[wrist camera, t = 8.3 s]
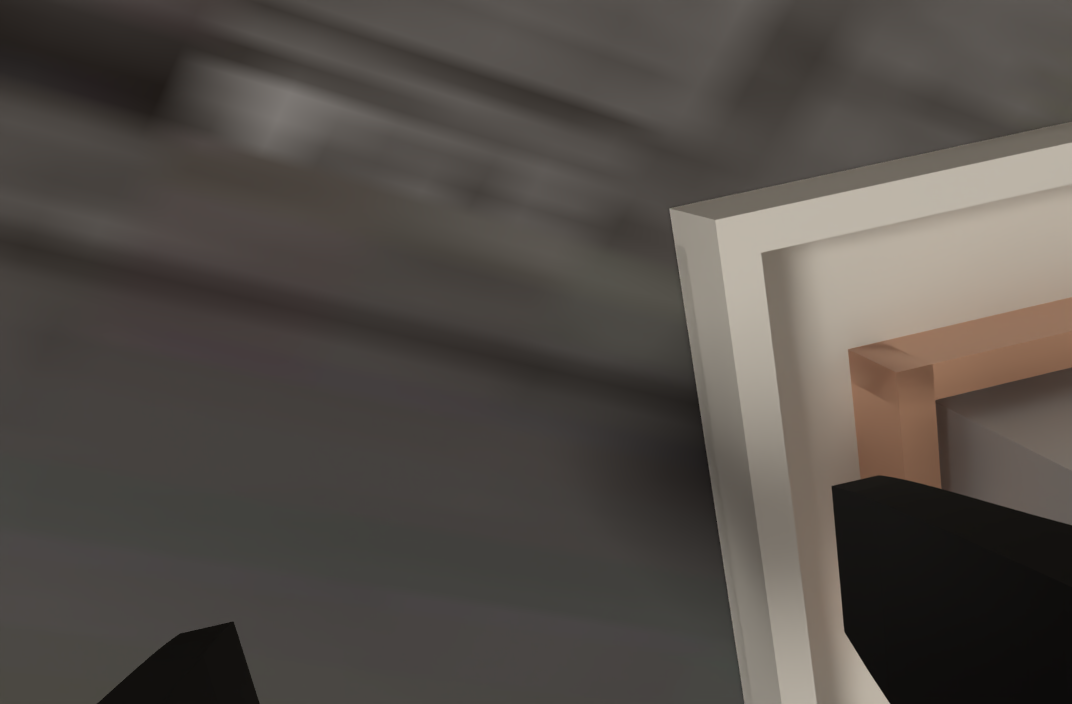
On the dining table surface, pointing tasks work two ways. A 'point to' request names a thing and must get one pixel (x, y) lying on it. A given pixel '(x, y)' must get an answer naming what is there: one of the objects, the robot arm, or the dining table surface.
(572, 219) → the dining table surface
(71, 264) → the dining table surface
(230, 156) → the dining table surface
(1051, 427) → the grey plug
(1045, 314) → the walled box
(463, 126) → the dining table surface
